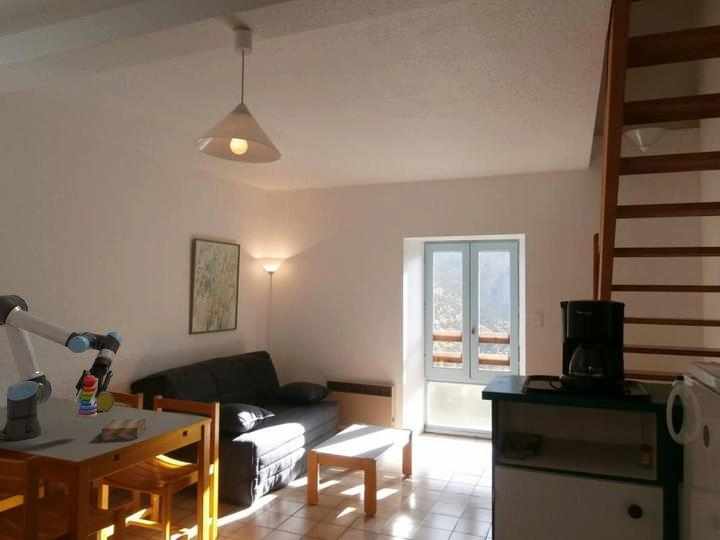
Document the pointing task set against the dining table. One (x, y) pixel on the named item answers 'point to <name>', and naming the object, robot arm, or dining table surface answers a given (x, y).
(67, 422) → the dining table surface
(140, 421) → the walnut block
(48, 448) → the dining table surface
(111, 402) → the decorative artifact
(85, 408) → the stacking toy
